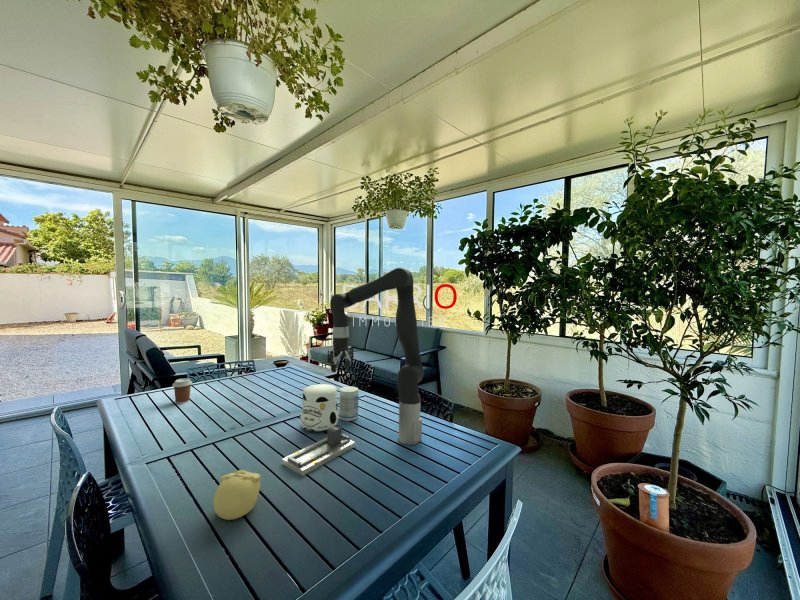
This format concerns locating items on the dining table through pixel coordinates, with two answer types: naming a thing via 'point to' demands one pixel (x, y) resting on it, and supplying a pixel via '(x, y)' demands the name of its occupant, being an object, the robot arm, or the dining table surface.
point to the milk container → (319, 408)
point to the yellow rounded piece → (236, 494)
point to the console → (316, 455)
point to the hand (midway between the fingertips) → (340, 370)
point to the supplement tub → (348, 403)
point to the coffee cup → (182, 390)
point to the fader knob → (334, 435)
